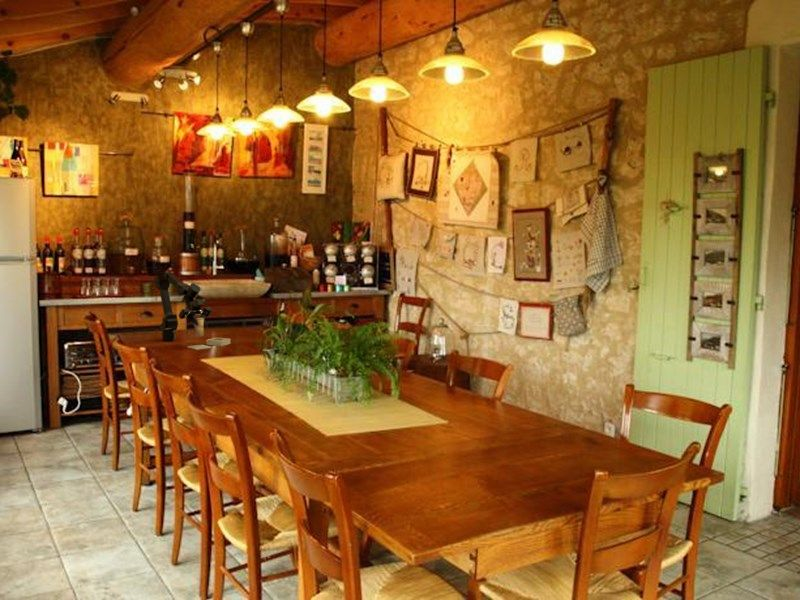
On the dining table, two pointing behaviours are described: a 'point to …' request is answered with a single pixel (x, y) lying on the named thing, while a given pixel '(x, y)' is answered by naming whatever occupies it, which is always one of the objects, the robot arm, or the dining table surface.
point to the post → (200, 327)
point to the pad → (199, 347)
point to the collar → (218, 341)
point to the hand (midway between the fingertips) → (201, 324)
